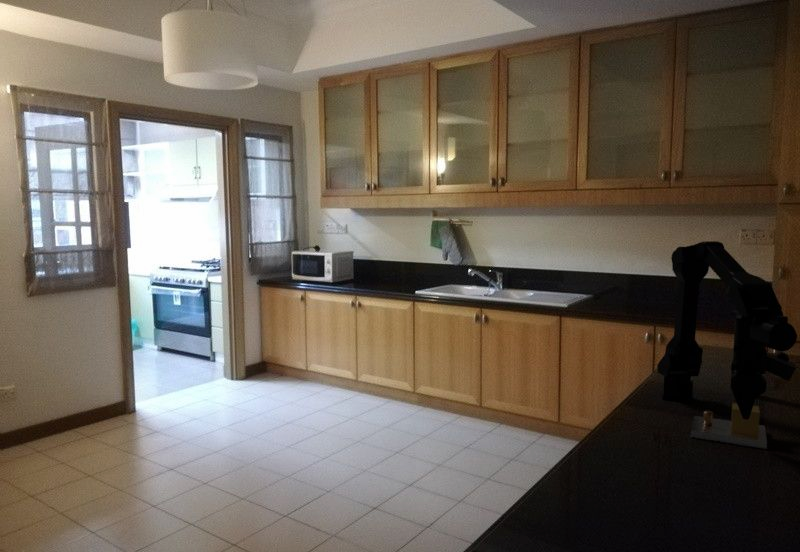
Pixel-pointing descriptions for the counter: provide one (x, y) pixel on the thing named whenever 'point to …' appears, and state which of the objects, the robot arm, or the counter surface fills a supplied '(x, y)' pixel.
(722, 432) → the plate
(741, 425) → the tan cardboard box
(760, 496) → the counter surface
